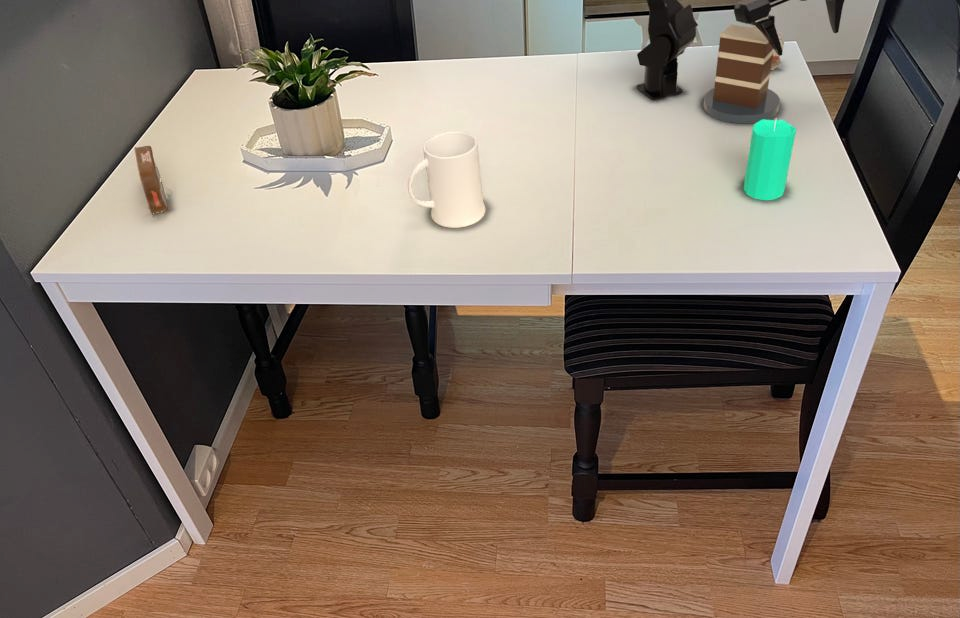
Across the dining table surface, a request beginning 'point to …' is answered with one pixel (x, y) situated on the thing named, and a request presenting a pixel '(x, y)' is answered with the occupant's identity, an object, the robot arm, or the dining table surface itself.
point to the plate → (741, 109)
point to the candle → (769, 159)
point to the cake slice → (743, 66)
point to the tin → (150, 179)
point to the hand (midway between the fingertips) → (807, 43)
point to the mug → (452, 179)
